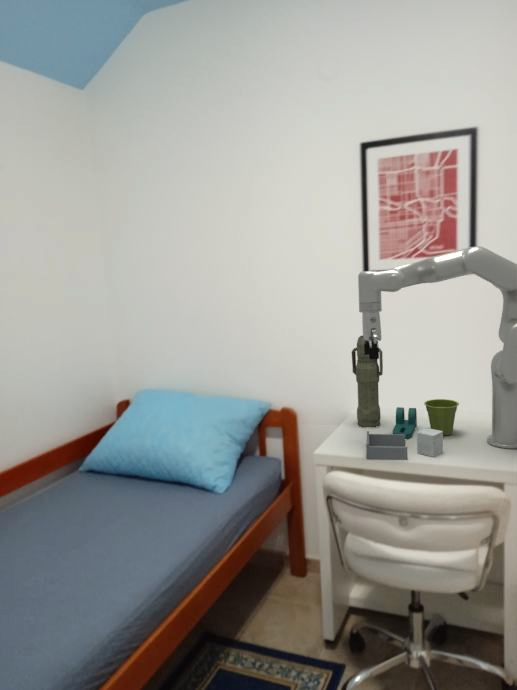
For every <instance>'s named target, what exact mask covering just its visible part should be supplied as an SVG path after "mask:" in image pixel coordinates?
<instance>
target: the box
mask: <svg viewBox="0 0 517 690" xmlns="http://www.w3.org/2000/svg"><path fill="white" fill-rule="evenodd" d="M365 440H366V443H365V445H366V446H365V447H366V448H365V450H366V459H367V460H401V461H402V460H403V461H405V460H408V458H409V457H408V456H409V455H408V452H409V451H408V446H406V440H405V434H392V433H390V434H389V433H370V431H369V430H367V431H366V439H365Z"/></svg>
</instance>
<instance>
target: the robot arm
mask: <svg viewBox="0 0 517 690" xmlns="http://www.w3.org/2000/svg"><path fill="white" fill-rule="evenodd" d="M472 274H473V275H476V276H477V277H479V278H480V279H482V280H484V281H486V282H488V283H490V284H491V285H492V286H494V287H495V288H497V289H498V290H500V293H501V295H502V301H503V302H502V311H501V312H502V313H501V317H500V323H499V326H498V327H499V328H498V338H499V340H500V341H501V342H502V344H503V347H502V350H499V351H498V352H496V353H495V354H494V355H493V356H492V358H491V362H490V374H491V387H492V390H491V392H492V393H491V394H492V395H491V396H492V397H491V398H492V399H491V405H492V406H491V435H489V436H487V438H486V441H487V443H488V444H489V445H492V446H493V447H498V448H502V449H510V450H511V449H517V263H515V262H514V261H512V260H510V259H507V258H506V257H503V256H502V255H499V254H497V253H495V252H494V251H492V250H490V249H488V248H486V247H484V246H479V245H477V246H469V247H466V248H461V249H457V250H455V251H454V250H453V251H450V252H447V253H442V254H439V255H435V256H431V257H427V258H425V259H422V260H420V261H416V262H413V263H407V264H404V265H400V266H397V267H394V268H389V269H387V270H382V271H379V270H365V271H360V272H359V273H358V276H357V277H358V278H357V279H358V281H357V282H358V284H357V286H358V308H359V309H358V312H359V313H362V317H361V318H362V320H361V322H362V336H363V337H364V354H365V355H369V359H370V360H372V359H377V360H380V354H379V342H380V341H382V328H381V324H382V323H381V315H380V312H382V310H383V308H382V292H385V293H386V292H389V293H395V292H398V291H400V290H402V289H403V288H407V287H412V286H416V285H420V284H434V283H438V282H445V281H447V280H451V279H456V278H459V277H463V276H468V275H472Z"/></svg>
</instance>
